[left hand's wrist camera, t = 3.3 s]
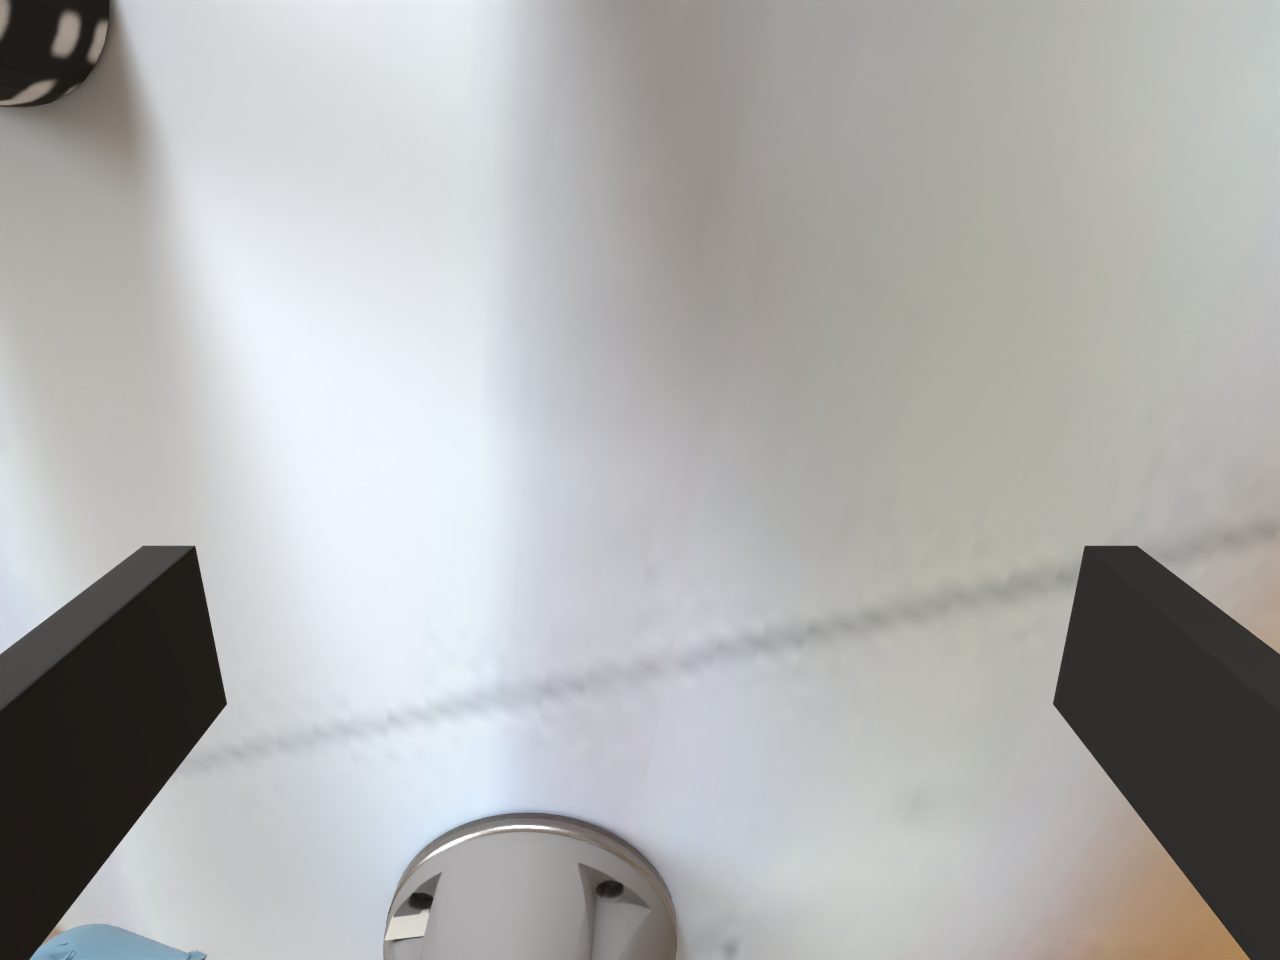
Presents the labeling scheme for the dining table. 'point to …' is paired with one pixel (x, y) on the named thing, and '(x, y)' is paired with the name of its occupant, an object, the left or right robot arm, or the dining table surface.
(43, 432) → the dining table surface
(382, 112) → the dining table surface
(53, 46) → the black white spotted cylinder
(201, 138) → the dining table surface
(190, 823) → the dining table surface
